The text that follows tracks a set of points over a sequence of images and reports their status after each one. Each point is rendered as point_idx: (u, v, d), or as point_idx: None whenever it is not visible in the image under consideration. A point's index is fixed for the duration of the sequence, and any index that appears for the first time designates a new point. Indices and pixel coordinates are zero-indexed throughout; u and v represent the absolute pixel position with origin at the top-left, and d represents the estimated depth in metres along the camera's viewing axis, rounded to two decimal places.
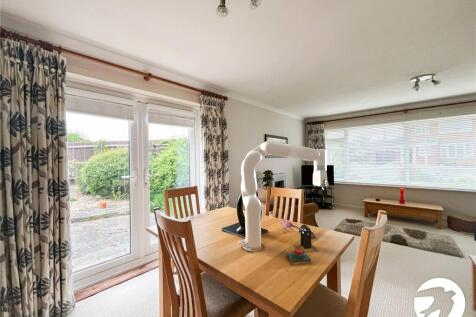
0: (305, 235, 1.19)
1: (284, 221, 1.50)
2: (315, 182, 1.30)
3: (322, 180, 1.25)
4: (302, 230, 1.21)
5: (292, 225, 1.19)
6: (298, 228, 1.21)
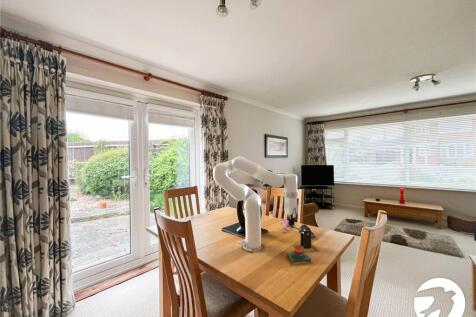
0: (305, 235, 1.19)
1: (284, 221, 1.50)
2: (286, 209, 1.21)
3: (292, 209, 1.15)
4: (302, 230, 1.21)
5: (291, 226, 1.19)
6: (298, 229, 1.21)
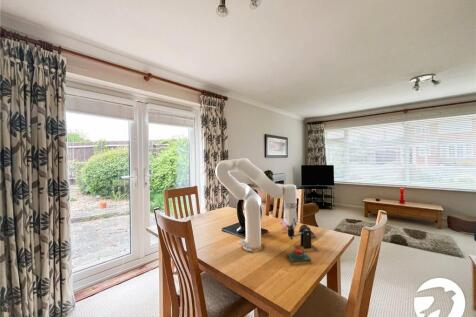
0: (305, 235, 1.19)
1: None
2: (285, 220, 1.21)
3: (291, 219, 1.15)
4: (301, 233, 1.21)
5: None
6: (297, 235, 1.21)
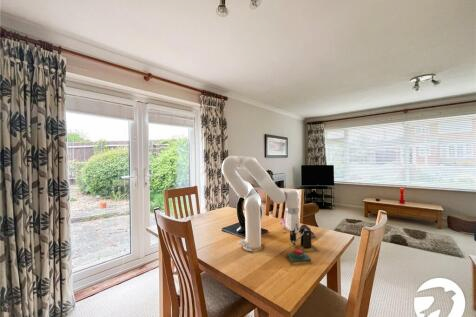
0: (305, 235, 1.19)
1: (284, 221, 1.50)
2: (287, 225, 1.21)
3: (293, 225, 1.16)
4: (302, 235, 1.21)
5: (293, 244, 1.19)
6: (299, 238, 1.21)
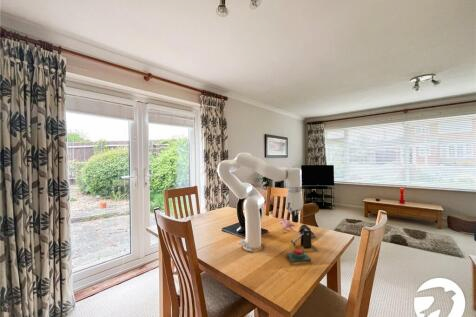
0: (305, 235, 1.19)
1: (284, 221, 1.50)
2: None
3: (287, 203, 1.12)
4: (302, 235, 1.21)
5: (293, 244, 1.19)
6: (299, 238, 1.21)
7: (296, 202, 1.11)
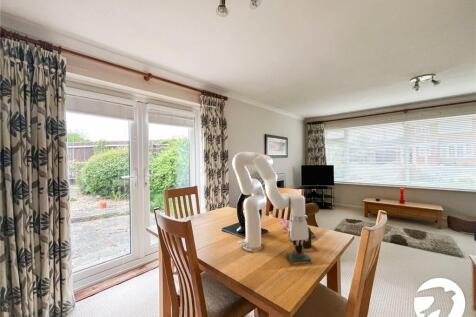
0: None
1: (284, 221, 1.50)
2: None
3: (288, 231, 1.09)
4: None
5: (293, 244, 1.19)
6: None
7: (297, 232, 1.06)
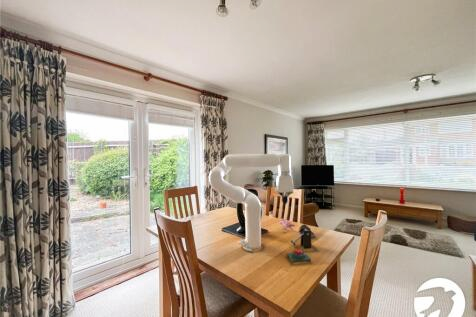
0: (305, 235, 1.19)
1: (284, 221, 1.50)
2: None
3: (276, 185, 1.26)
4: (302, 235, 1.21)
5: (293, 244, 1.19)
6: (299, 238, 1.21)
7: (283, 185, 1.22)
